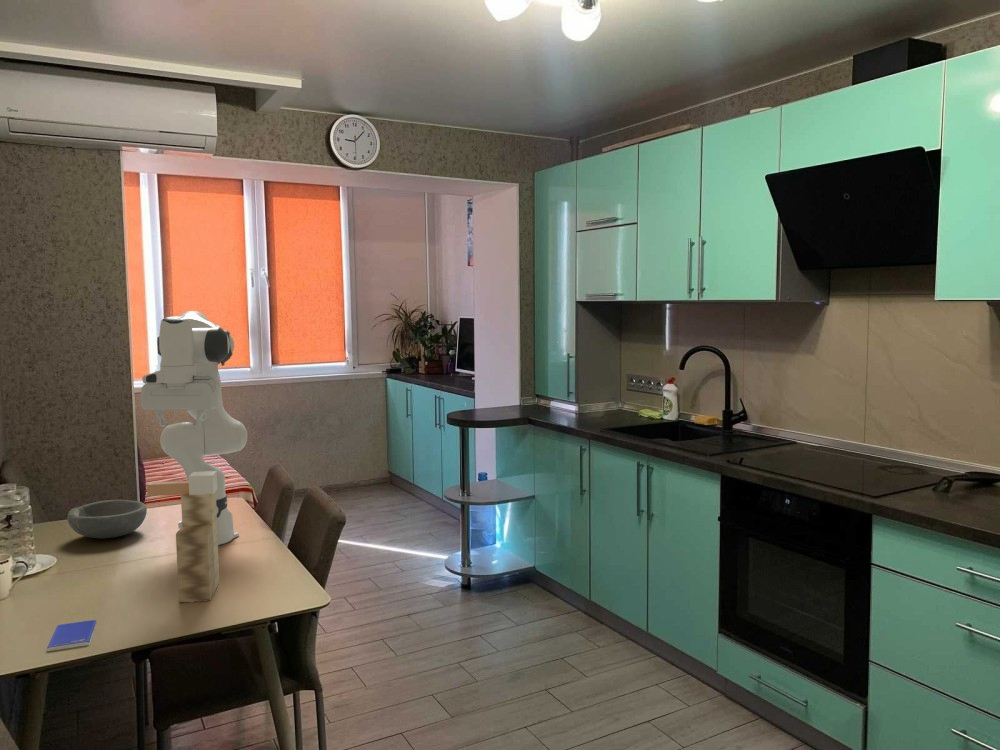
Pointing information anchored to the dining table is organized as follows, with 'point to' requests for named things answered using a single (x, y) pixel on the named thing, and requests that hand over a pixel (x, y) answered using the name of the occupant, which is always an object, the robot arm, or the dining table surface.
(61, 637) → the hard drive
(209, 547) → the beige tall block
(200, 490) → the hammer
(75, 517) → the bowl
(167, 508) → the dining table surface
